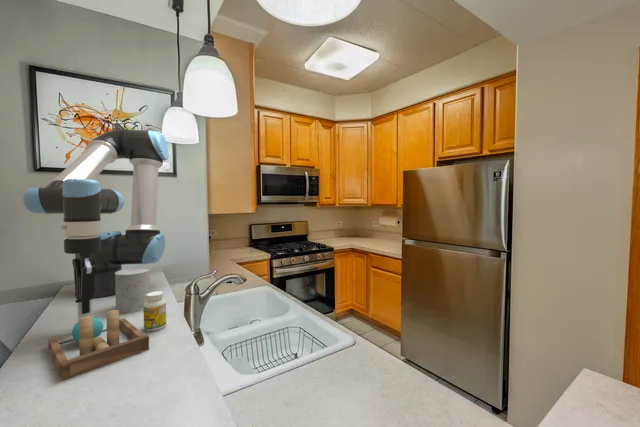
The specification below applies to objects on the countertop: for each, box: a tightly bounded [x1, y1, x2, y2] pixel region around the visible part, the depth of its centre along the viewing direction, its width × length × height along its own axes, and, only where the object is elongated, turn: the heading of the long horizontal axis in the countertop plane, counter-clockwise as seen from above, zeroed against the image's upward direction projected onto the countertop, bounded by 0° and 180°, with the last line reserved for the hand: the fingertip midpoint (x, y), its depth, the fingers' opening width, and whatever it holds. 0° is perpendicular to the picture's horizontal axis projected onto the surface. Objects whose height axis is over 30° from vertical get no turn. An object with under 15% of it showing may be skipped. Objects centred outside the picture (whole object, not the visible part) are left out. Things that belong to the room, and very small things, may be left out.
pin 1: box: [78, 315, 94, 356], centre depth 62 cm, size 2×2×8 cm
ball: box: [71, 316, 104, 343], centre depth 68 cm, size 6×6×6 cm
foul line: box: [58, 328, 107, 345], centre depth 71 cm, size 1×13×1 cm, turn 141°
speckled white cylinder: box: [115, 267, 151, 315], centre depth 90 cm, size 10×10×12 cm
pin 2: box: [105, 309, 120, 346], centre depth 66 cm, size 2×2×8 cm
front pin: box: [93, 336, 110, 351], centre depth 63 cm, size 2×2×8 cm
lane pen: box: [47, 317, 150, 381], centre depth 65 cm, size 18×15×3 cm
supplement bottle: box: [143, 290, 167, 332], centre depth 76 cm, size 5×5×10 cm
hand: (84, 323), depth 74 cm, fingers closed
